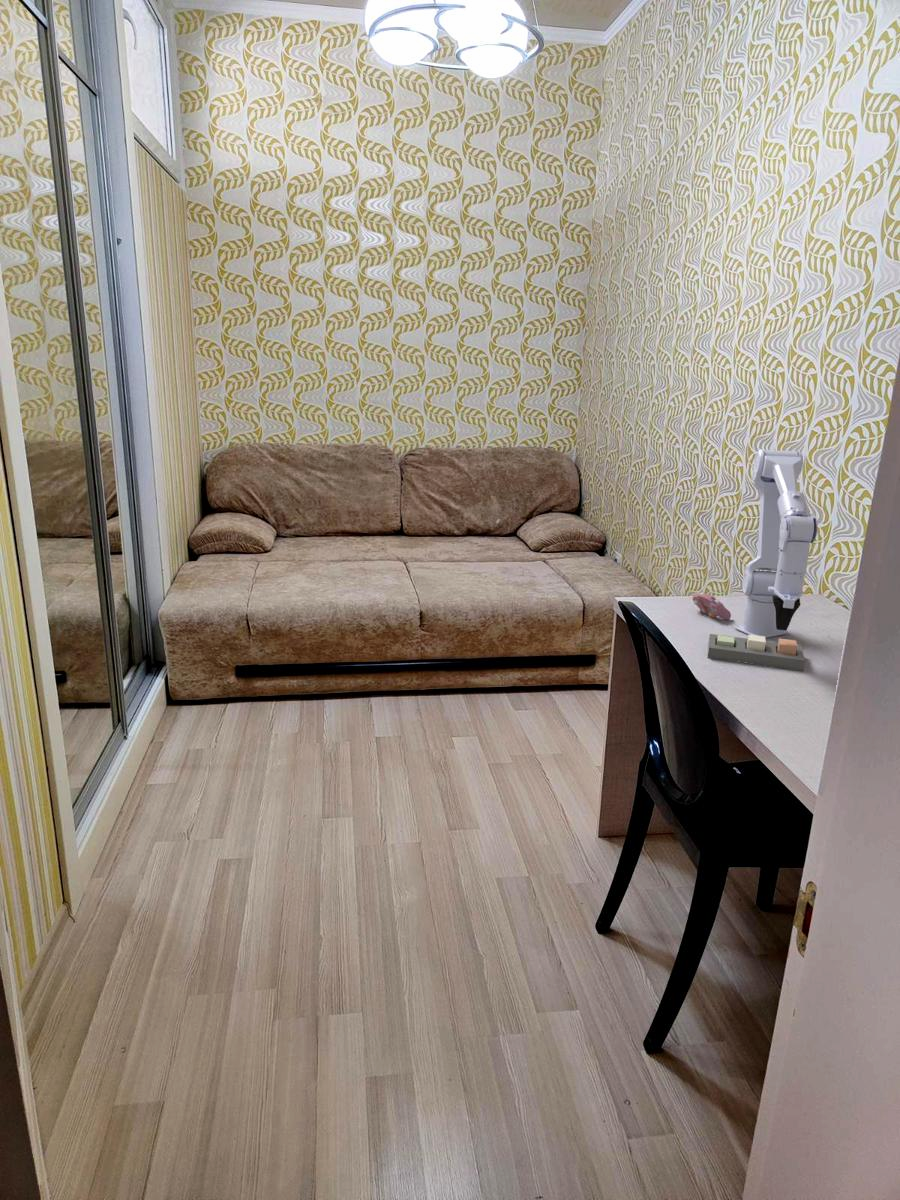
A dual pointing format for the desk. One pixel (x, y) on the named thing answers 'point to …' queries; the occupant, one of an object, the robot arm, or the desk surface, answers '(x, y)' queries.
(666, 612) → the desk surface
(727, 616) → the pinkish-red lumpy piece
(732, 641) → the sage button
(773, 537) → the robot arm
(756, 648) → the cream button
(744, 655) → the button panel
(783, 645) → the terracotta button
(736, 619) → the desk surface
